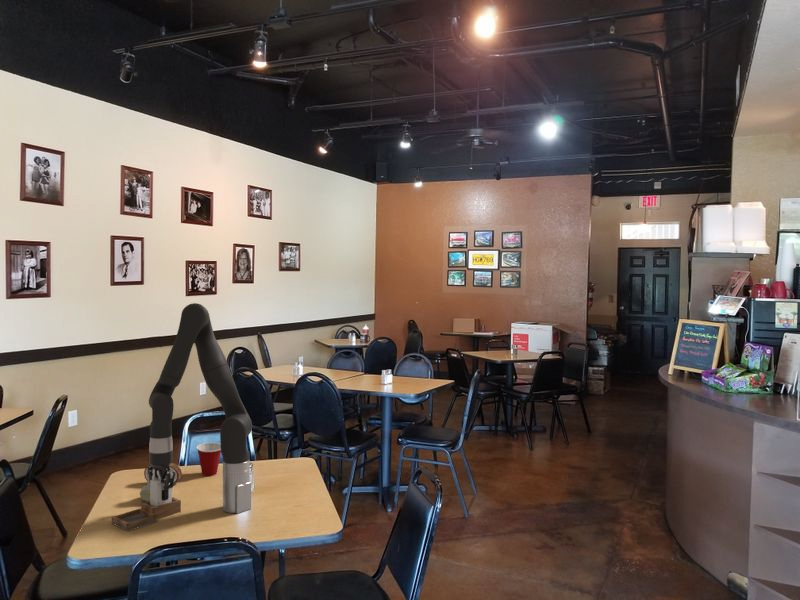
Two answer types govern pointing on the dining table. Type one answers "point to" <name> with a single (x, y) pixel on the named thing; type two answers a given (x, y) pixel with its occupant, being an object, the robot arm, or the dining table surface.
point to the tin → (172, 468)
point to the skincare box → (158, 493)
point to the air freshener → (146, 491)
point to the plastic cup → (209, 458)
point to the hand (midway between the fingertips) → (161, 498)
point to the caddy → (146, 514)
